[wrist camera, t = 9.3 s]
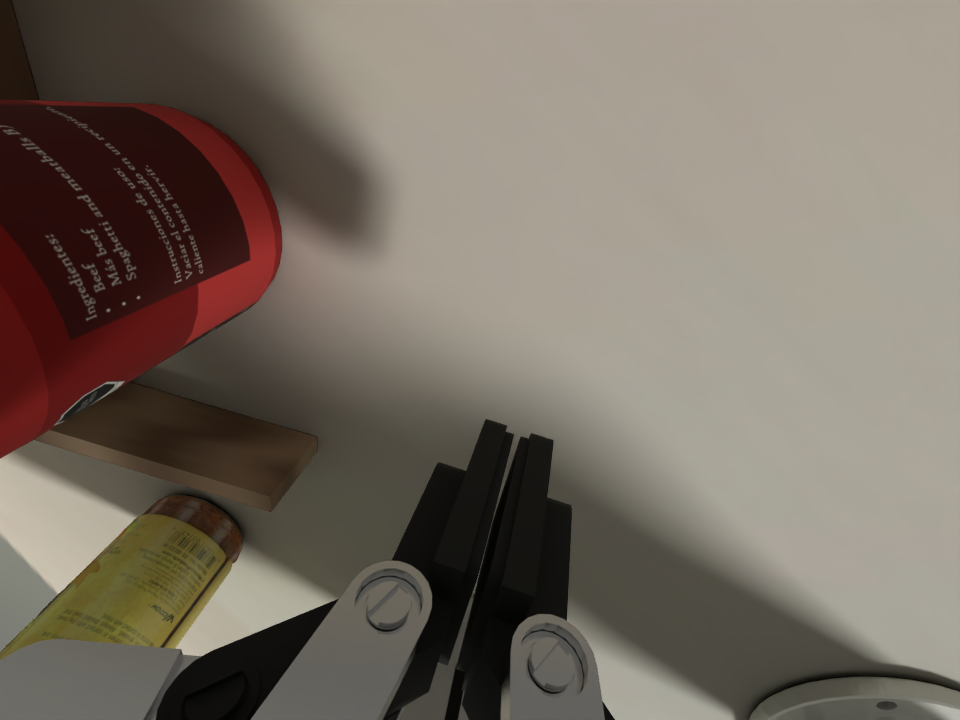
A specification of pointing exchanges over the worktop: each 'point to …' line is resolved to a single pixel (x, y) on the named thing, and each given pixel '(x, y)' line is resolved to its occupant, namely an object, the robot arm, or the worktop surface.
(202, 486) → the wooden corner frame
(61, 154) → the canned food
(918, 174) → the worktop surface
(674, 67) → the worktop surface
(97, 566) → the sauce bottle
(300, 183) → the worktop surface
